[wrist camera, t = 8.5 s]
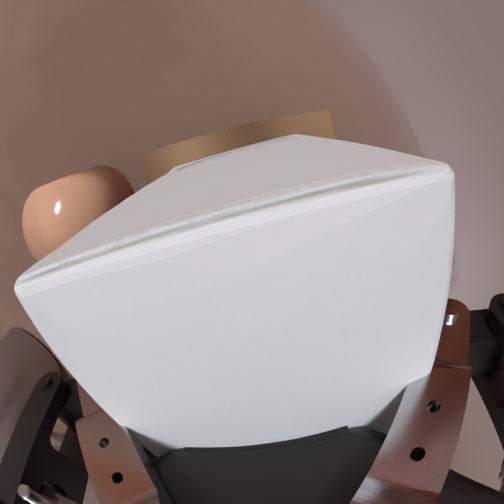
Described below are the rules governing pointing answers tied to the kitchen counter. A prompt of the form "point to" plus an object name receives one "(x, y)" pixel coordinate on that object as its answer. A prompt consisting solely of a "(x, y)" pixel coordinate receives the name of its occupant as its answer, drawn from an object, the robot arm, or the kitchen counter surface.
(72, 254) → the skincare box
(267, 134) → the stand
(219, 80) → the kitchen counter surface
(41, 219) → the peach rounded knob
